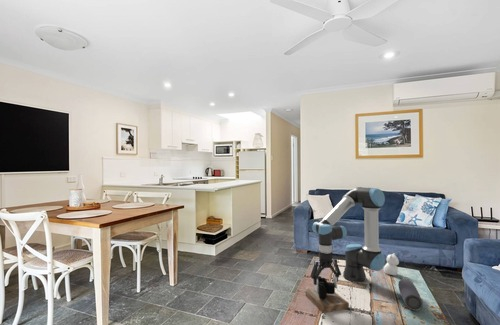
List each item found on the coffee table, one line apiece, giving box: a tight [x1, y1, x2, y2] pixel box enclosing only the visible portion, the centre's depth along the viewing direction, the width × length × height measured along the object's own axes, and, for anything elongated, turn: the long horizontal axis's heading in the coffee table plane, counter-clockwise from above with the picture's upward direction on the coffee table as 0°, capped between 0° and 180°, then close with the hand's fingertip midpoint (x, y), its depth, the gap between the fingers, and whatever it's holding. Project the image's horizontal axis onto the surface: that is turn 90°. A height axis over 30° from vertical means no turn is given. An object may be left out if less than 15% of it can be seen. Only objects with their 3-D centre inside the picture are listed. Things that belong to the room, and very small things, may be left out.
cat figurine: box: [381, 252, 400, 276], centre depth 189 cm, size 9×12×15 cm
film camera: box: [317, 275, 336, 300], centre depth 149 cm, size 15×10×9 cm, turn 170°
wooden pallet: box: [305, 288, 350, 314], centre depth 148 cm, size 16×20×3 cm
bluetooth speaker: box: [397, 277, 423, 311], centre depth 147 cm, size 23×9×10 cm, turn 157°
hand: (326, 288), depth 149 cm, fingers closed on film camera, 12 cm apart
